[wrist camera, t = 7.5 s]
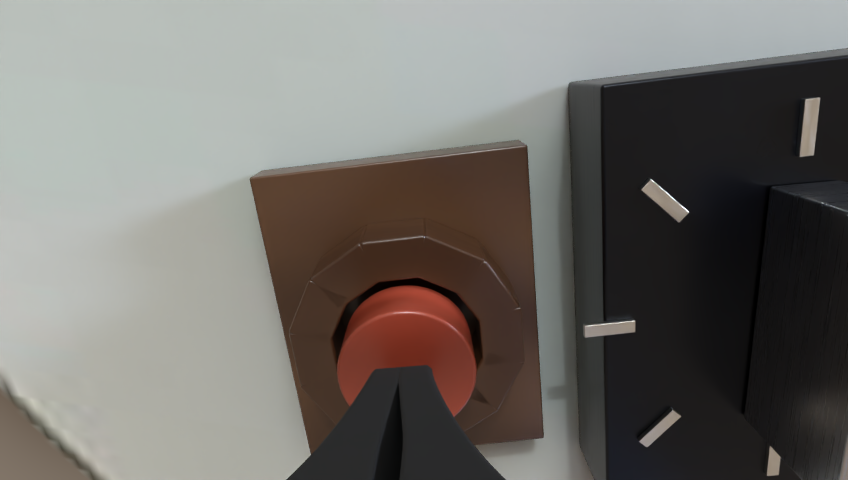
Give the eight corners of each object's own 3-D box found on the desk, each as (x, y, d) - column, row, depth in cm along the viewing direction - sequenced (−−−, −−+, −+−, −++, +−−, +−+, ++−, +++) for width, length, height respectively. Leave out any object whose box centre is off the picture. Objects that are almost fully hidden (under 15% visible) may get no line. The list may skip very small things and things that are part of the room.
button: (476, 389, 16) (482, 427, 14) (356, 401, 16) (348, 441, 14) (464, 277, 14) (470, 303, 13) (335, 291, 15) (324, 320, 13)
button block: (536, 416, 19) (557, 477, 16) (318, 439, 19) (300, 504, 16) (519, 139, 16) (541, 154, 13) (260, 170, 16) (226, 191, 13)
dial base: (870, 416, 19) (954, 480, 16) (563, 448, 19) (589, 516, 16) (934, 37, 15) (1062, 28, 12) (547, 84, 15) (578, 87, 12)
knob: (804, 413, 15) (923, 519, 12) (742, 418, 15) (843, 525, 12) (840, 179, 13) (999, 220, 10) (768, 185, 13) (901, 229, 10)
